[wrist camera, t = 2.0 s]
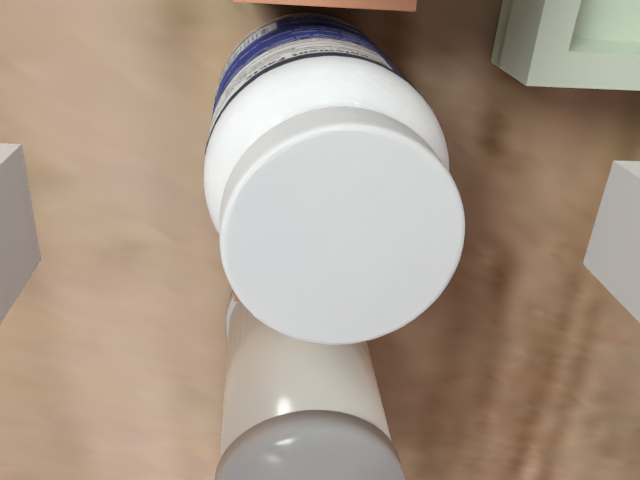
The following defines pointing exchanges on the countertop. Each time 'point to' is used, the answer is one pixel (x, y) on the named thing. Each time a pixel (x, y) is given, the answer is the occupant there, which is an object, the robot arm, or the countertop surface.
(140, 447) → the countertop surface
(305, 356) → the white rounded cylinder
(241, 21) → the countertop surface
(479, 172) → the countertop surface
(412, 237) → the pill bottle
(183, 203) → the countertop surface
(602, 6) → the tray
